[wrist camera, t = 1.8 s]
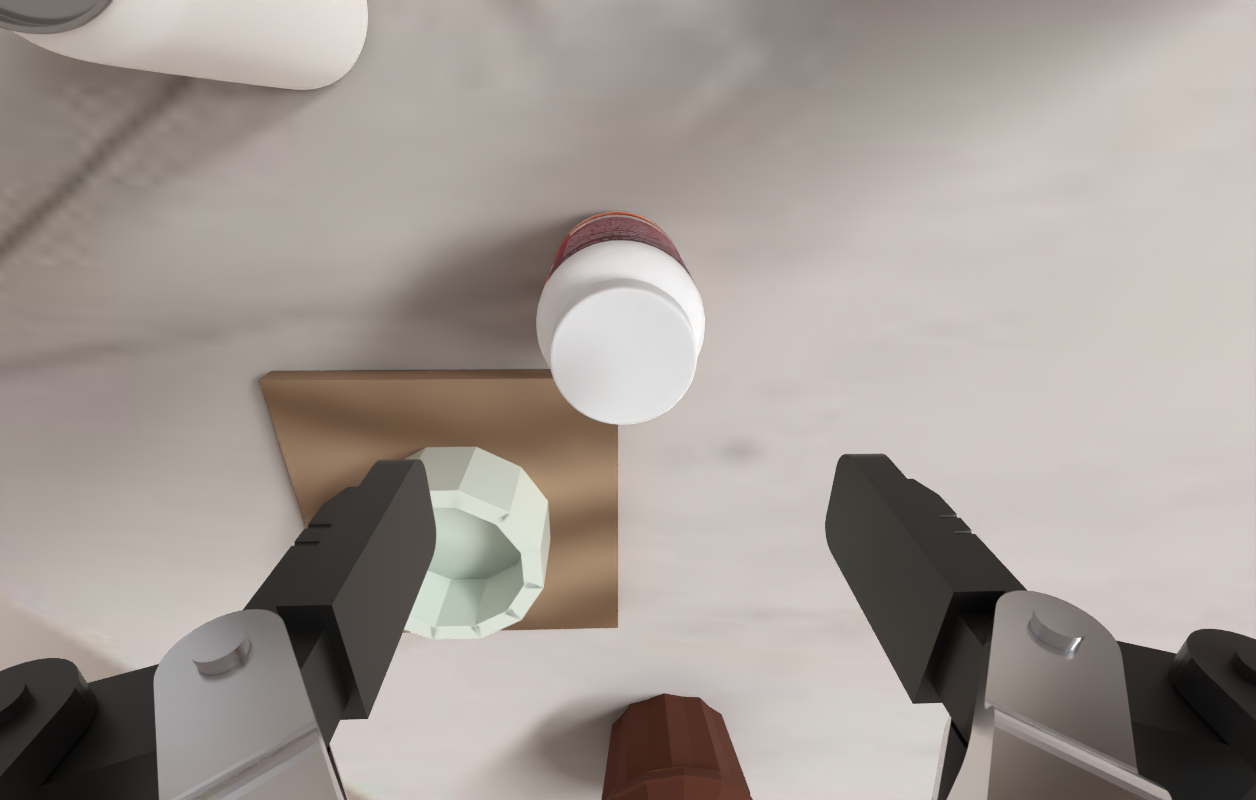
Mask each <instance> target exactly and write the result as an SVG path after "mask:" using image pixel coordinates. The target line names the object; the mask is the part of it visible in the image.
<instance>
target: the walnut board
mask: <svg viewBox="0 0 1256 800" xmlns="http://www.w3.org/2000/svg"><path fill="white" fill-rule="evenodd" d="M259 382H260V385H261V388H262V391H263V394H264V397H265V400H266V404H267V407H268V410H269V413H270V416H271V419H272V422H273V425H274V429H275V432H276V435H277V438H278V441H279V444H280V447H281V451H282V454H283V457H284V460H285V463H286V466H287V469H288V472H289V476H290V479H291V482H292V485H293V488H294V491H295V494H296V497H297V501H298V504H299V507H300V510H301V513H302V516H303V519H304V523H305V526H306V529H307V528H308V523H309V522H310V521H311V519H312V518H313V517H314V515H315V514H316V513H317V512H318V510H319V509H320V508H321V506H322V505H323V504H324V503H326V502H327V501H328V500H330V499H331V498H333V497H334V496H335V495H337V494H338V493H340V492H341V491H342V490H344V489H345V488H347V487H359V485H360V484H361V482H362V481H363V479H364V478H365V476H366V475H367V474H368V472H369V471H370V469H371V468H372V466H373V465H374V464H375V462H376V461H378V460H400V459H406V458H407V457H409V456H411V455H413V454H415V453H416V452H418V451H420V450H422V449H424V448H426V447H478V448H480V449H482V450H485V451H487V452H489V453H491V454H493V455H496V456H498V457H500V458H502V459H505V460H507V461H509V462H511V463H513V464H516V465H518V466H520V467H522V469H523V470H524V471H525V472H526V474H527V475H528V476H529V478H530V479H531V480H532V481H533V483H534V484H535V485H536V486H537V488H538V489H539V490H540V491H541V493H542V494H543V495H544V497H545V498H546V499H547V500H548V509H549V523H550V537H551V538H550V545H549V552H548V560H547V567H546V574H545V581H544V588H543V590H542V591H541V592H540V594H539V595H538V597H537V598H536V600H535V601H534V603H533V604H532V605H531V607H530V608H529V610H528V611H527V613H526V614H525V616H524V617H523V619H522V620H521V621H518V622H516V623H514V624H512V625H510V626H507V627H505V628H503V629H501V630H537V629H581V628H618V425H616V424H609V423H604V422H600V421H597V420H594V419H592V418H590V417H588V416H586V415H584V414H582V413H581V412H579V411H578V410H576V409H575V408H574V407H573V406H572V405H571V404H570V403H569V402H568V401H567V400H566V399H565V398H564V397H563V395H562V394H561V393H560V391H559V389H558V387H557V386H556V384H555V381H554V379H553V376H552V373H551V369H540V370H374V371H272V372H270V373H269V374H268V375H266V376H265V377H263V378H262V379H261V380H259ZM403 632H410V631H407V630H403Z"/></svg>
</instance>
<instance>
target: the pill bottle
mask: <svg viewBox="0 0 1256 800" xmlns="http://www.w3.org/2000/svg"><path fill="white" fill-rule="evenodd" d="M536 331H537V338H538V343H539V346H540V350H541V352H542V355H543V357H544V359H545V361H546V363H547V364H548V366H549V368H550V369H551V373H552V376H553V379H554V381H555V384H556V386H557V387H558V389H559V391H560V393H561V394H562V395H563V397H564V398H565V399H566V400H567V401H568V402H569V403H570V404H571V405H572V406H573V407H574V408H575V409H576V410H578V411H579V412H581V413H582V414H584V415H586V416H588V417H590V418H592V419H594V420H597V421H600V422H604V423H609V424H616V425H628V424H636V423H641V422H645V421H648V420H651V419H653V418H655V417H657V416H659V415H661V414H663V413H665V412H666V411H668V410H669V409H670V408H672V407H673V406H674V405H675V404H676V403H677V402H678V401H679V400H680V399H681V398H682V396H683V395H684V394H685V392H686V391H687V389H688V388H689V386H690V384H691V382H692V379H693V377H694V374H695V369H696V365H697V357H698V355H699V352H700V349H701V347H702V343H703V339H704V332H705V315H704V308H703V304H702V300H701V297H700V294H699V292H698V290H697V287H696V285H695V282H694V281H693V279H692V277H691V275H690V273H689V272H688V270H687V268H686V266H685V265H684V263H683V261H682V259H681V257H680V255H679V253H678V252H677V250H676V248H675V246H674V244H673V243H672V241H671V240H670V239H669V237H668V236H667V235H666V234H665V233H664V232H663V231H662V230H661V229H660V228H659V227H658V226H657V225H656V224H654V223H653V222H652V221H650V220H648V219H647V218H645V217H642V216H640V215H638V214H634V213H630V212H625V211H609V212H604V213H600V214H596V215H594V216H591V217H589V218H587V219H585V220H584V221H582V222H581V223H579V224H578V225H577V226H576V227H574V228H573V229H572V230H571V231H570V232H569V234H568V235H567V236H566V238H565V239H564V240H563V242H562V244H561V245H560V247H559V249H558V251H557V254H556V257H555V260H554V262H553V265H552V267H551V270H550V273H549V276H548V278H547V281H546V283H545V286H544V288H543V291H542V294H541V297H540V301H539V304H538V309H537V317H536Z"/></svg>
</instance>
